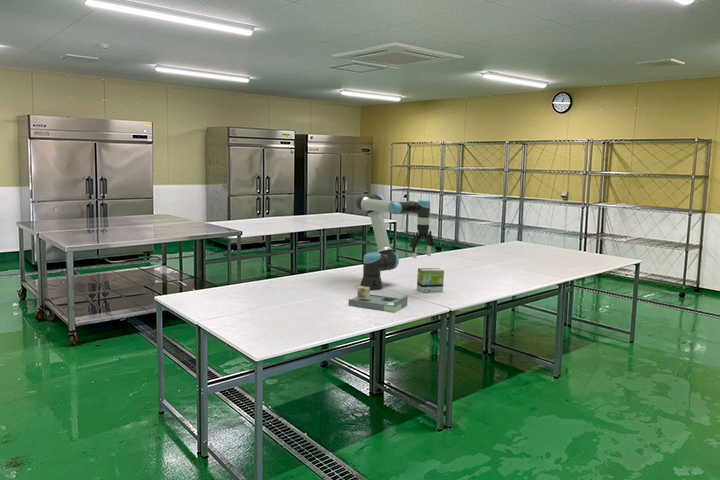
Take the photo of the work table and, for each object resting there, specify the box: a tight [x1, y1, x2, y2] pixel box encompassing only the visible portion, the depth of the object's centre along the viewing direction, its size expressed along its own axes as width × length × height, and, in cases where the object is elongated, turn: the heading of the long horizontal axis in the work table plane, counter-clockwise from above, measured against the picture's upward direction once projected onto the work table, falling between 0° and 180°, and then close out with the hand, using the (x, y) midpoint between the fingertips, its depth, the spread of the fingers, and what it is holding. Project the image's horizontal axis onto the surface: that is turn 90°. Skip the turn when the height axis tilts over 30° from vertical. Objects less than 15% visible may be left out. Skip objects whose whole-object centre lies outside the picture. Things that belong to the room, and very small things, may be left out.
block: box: [356, 286, 371, 298], centre depth 339 cm, size 6×6×6 cm
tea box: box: [416, 267, 445, 293], centre depth 370 cm, size 15×10×15 cm
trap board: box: [348, 293, 409, 313], centre depth 330 cm, size 30×18×6 cm, turn 63°
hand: (421, 256), depth 357 cm, fingers open, 13 cm apart
